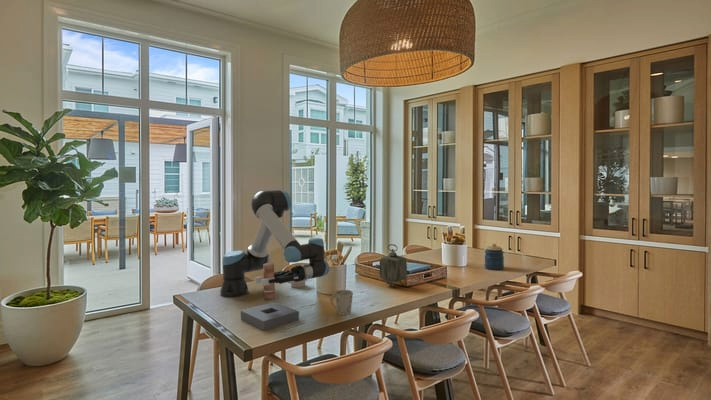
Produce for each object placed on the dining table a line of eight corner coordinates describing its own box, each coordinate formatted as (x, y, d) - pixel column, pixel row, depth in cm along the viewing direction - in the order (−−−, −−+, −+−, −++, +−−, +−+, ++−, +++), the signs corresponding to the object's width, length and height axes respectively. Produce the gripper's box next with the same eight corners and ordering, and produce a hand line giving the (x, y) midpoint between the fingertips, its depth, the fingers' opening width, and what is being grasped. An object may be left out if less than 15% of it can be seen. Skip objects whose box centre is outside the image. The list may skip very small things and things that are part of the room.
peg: (261, 299, 178) (260, 264, 178) (271, 296, 182) (270, 262, 181) (267, 301, 175) (266, 265, 174) (277, 299, 178) (276, 264, 178)
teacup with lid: (303, 283, 243) (303, 264, 242) (307, 287, 234) (307, 267, 234) (284, 285, 238) (283, 266, 237) (287, 289, 229) (287, 269, 229)
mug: (346, 317, 180) (346, 295, 180) (324, 312, 187) (324, 292, 187) (356, 312, 188) (356, 291, 187) (334, 307, 194) (334, 287, 194)
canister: (486, 270, 272) (486, 244, 271) (483, 266, 284) (483, 242, 284) (505, 270, 270) (505, 245, 269) (501, 266, 282) (502, 242, 282)
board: (240, 319, 180) (240, 310, 180) (274, 310, 192) (274, 301, 192) (263, 330, 165) (263, 321, 165) (298, 319, 178) (298, 311, 178)
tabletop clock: (407, 286, 232) (406, 244, 231) (398, 289, 225) (398, 246, 224) (387, 282, 241) (386, 242, 240) (378, 285, 235) (377, 244, 233)
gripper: (312, 283, 184) (269, 293, 168) (290, 277, 197) (248, 286, 181) (312, 267, 184) (268, 276, 168) (290, 262, 197) (248, 270, 180)
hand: (258, 281), depth 174 cm, fingers closed on peg, 5 cm apart
